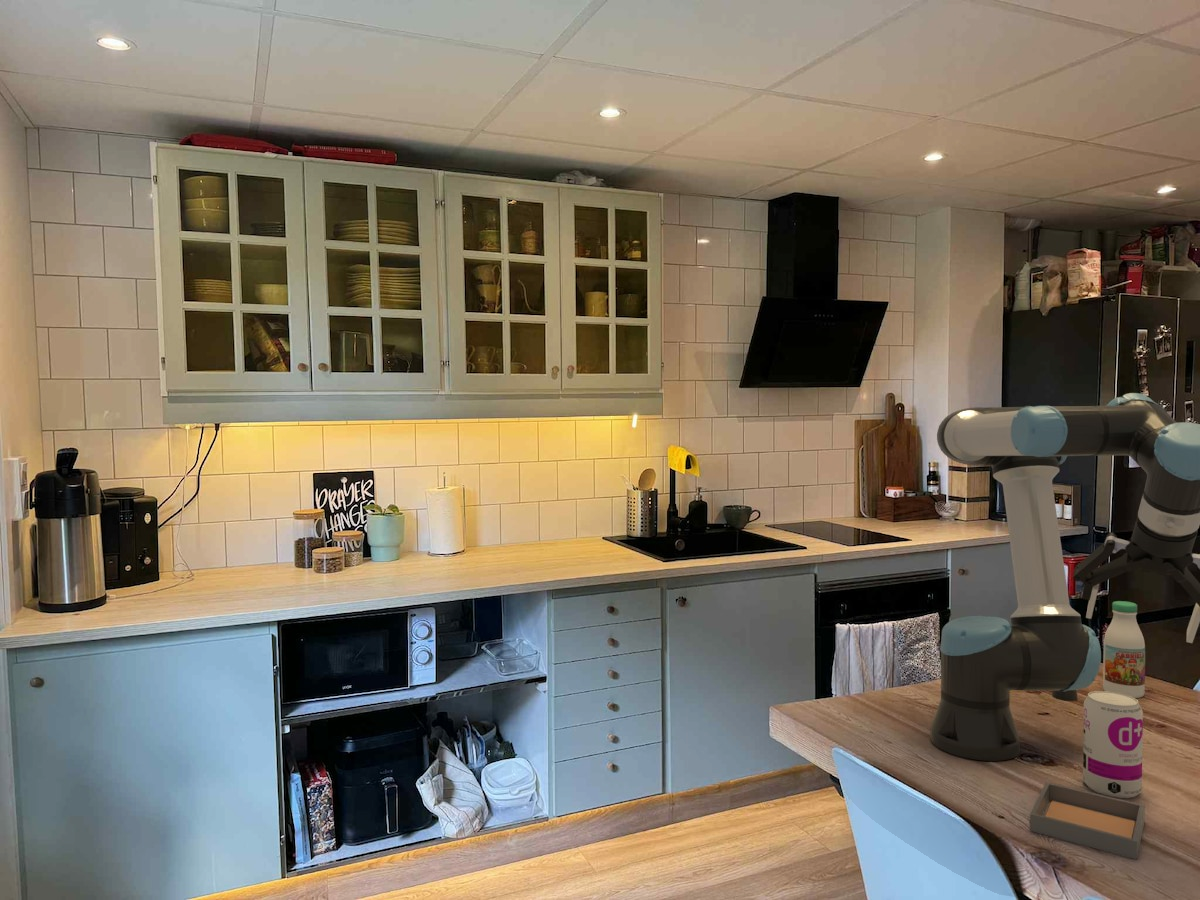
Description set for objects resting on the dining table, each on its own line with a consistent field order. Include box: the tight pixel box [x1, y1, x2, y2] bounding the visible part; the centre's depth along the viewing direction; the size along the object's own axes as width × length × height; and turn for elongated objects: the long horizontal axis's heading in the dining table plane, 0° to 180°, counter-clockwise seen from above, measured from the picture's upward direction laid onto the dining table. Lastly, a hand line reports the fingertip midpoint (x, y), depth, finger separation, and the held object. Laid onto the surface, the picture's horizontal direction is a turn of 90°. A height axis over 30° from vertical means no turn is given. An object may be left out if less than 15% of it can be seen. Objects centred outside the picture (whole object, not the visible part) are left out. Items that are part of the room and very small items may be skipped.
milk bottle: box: [1102, 600, 1146, 699], centre depth 178 cm, size 8×8×20 cm
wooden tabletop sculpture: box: [1051, 690, 1078, 702], centre depth 175 cm, size 6×5×20 cm
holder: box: [1029, 781, 1146, 860], centre depth 121 cm, size 13×13×2 cm
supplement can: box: [1082, 690, 1144, 799], centre depth 133 cm, size 8×8×15 cm
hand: (1138, 624), depth 130 cm, fingers open, 13 cm apart
